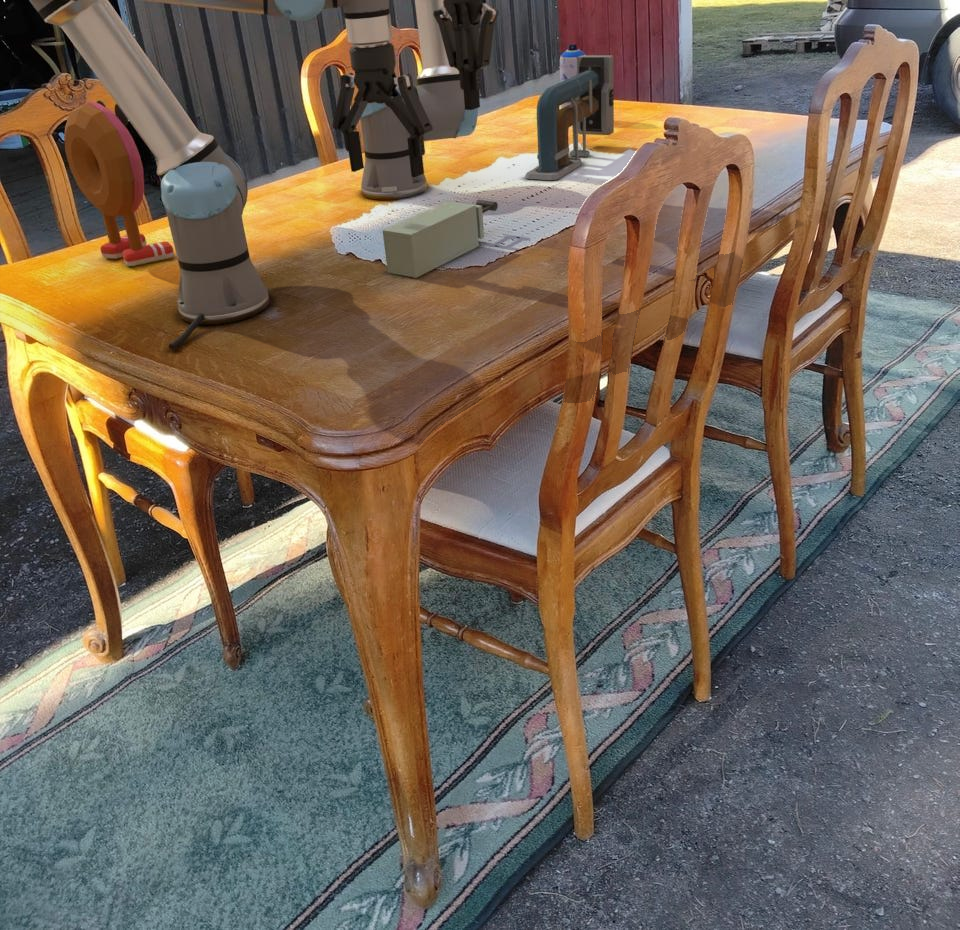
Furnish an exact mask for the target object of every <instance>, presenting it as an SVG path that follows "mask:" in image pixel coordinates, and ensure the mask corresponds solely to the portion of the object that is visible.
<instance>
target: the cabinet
mask: <svg viewBox="0 0 960 930" xmlns="http://www.w3.org/2000/svg"><path fill="white" fill-rule="evenodd" d="M462 203H463V202H455V201H454V202H453V201H446V202H444V203H441V204H439V205H437V206H436V205H435V206H434V207H432V208H430V209H427V210H425V211H423V212H420V213H418V214H416V215H413V216H412V217H411V216H410V217H409V218H406V219H404V220H403V221H399V222H398V223H395V224H393V225H391V226H388V227H386V228H384V229H382V238H383V239H382V240H383V245H384V255H385V261H386V269H387V273H388V274H393V275H397V276H398V275H399V276H403V277H409V278H414V279H417V278H419V277H421V276H423V275H424V274H427V273H429V272H431V271H433V270H435V269H437V268H438V267H441V266H442V265H444V264H447V263H449V262H450V261H452V260H455V259H456V258H458V257H460V256H462V255H464V254H467V253H468V252H470V251H472V250H474V249H476V248H478V247H479V246H480V242H479V239H478V228H477V215H476V204H473V205H470V204H471V203H465V204H462Z"/></svg>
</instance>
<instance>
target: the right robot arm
mask: <svg viewBox="0 0 960 930" xmlns="http://www.w3.org/2000/svg"><path fill="white" fill-rule="evenodd" d="M414 6H415V7H414V8H415V14H416V15H415V16H416V22H417V23H416V24H417V31H418V40H419V41H418V42H419V49H420V56H421V57H420V58H421V66H422V69H421V71H420V72H419V74H418V75H417V77H416V82H417V86H413V87H414V89H415V91H416V94H417V96H418V98H419V100H420V102H421V104H422V106H423V108H424V110H425V112H426V114H427V116H428V119H429V121H430V123H431V125H432V127H433V130H432V131H431V132H429V133H426V134H425V135H424V142H429V141H438V140H446V139H447V140H448V139H458V138H461V137H468V136H470V135H472V134H473V133H474V132H475V130H476V128H477V125H478V124H477V123H478V114H479V109H480V108H481V100H480V90H481V89H482V85H483V84H482V72H481V71H482V69H484V68H486V67H489V65H490V64H491V62H490V61H491V54H492V48H493V47H492V45H493V39H494V30H495V23H496V20H497V18H498V16H499V9H498V8H492V7H491V6H490V5H489V4H487V0H414ZM396 89H397V86H396ZM397 91H398V92H399V93H400V90H399V89H397ZM400 95H401V93H400ZM392 98H393V96H392ZM402 100H403V98H402ZM403 102H404V100H403ZM404 103H405V102H404ZM405 105H406V104H405ZM359 121H360V127H361V137H362V145H363V151H364V153H363V154H364V164H363V165H364V168H363V171H362V177H361V182H360V192H361V195H362V196H363V197H364V198H367V199H371V200H380V201H384V200H385V201H389V200H390V201H391V200H400V199H406V198H410V197H414V196H417V195H420V194H422V193H424V192H425V191H426V190H428V182H427V177H426V175H425V173H424V174H421V175H419V176H417V177H412V175H411V167H410V158H409V149H408V140H407V138H409V137H410V136H411V135H410V134H409V133H408V131H407V130H406V128H405V127H404V126H403V124H402V123H401V122H400V120H399V119H398V118H397V116H396V115H395V114H394V112H393V111H392V110H391V108H390V107H388V106H386V104H385V103H382V104H379V103H376V102H373V103H368V104H367V106H366V108H365V110H364V112H363V114H362V116H361V118H360V120H359Z"/></svg>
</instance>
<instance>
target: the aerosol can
mask: <svg viewBox="0 0 960 930" xmlns="http://www.w3.org/2000/svg"><path fill="white" fill-rule="evenodd" d="M581 55H586V54H585V52H584V51H583V50H581V49H579V48H578V44H577V43H574V44H568V48H567V49H566V50H565V51H563V52H562V53H561V55H560V56H559V79H560V81H559V83H560V82H562V81H565V80H567V79H569V78H571V77H573V76H576V75H577V57H579V56H581ZM570 104H572V103H571V102H569V103H564V104H562V105H560V109H562V108H564V107H566V106H568V105H570Z"/></svg>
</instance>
